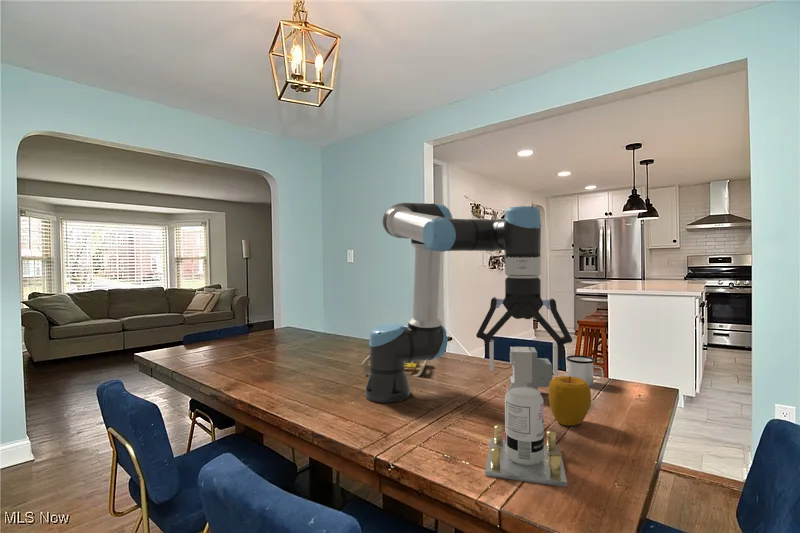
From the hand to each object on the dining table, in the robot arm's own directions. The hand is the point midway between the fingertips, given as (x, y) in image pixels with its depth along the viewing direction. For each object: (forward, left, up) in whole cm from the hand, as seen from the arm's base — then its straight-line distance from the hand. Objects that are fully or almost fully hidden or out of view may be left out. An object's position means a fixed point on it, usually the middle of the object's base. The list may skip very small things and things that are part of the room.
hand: (522, 371), depth 89 cm
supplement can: (0, 0, -20) cm, 20 cm away
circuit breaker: (+3, +47, -21) cm, 51 cm away
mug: (+21, +63, -21) cm, 69 cm away
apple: (+12, +25, -21) cm, 34 cm away
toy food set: (-50, +64, -21) cm, 84 cm away
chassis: (0, 0, -20) cm, 20 cm away
